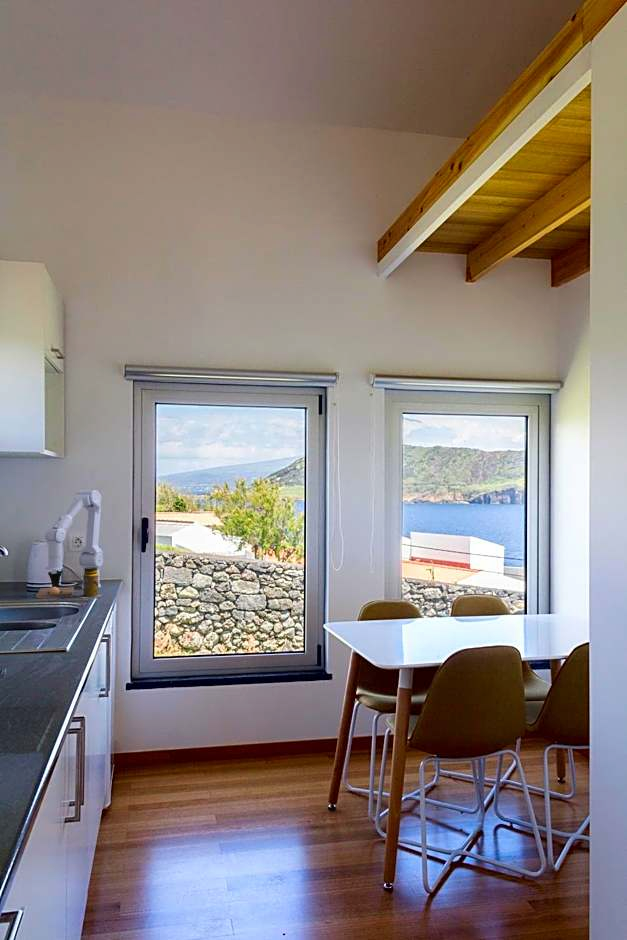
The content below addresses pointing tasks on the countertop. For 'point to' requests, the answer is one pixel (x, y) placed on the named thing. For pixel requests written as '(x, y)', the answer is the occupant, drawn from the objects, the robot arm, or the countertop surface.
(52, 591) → the ball
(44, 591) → the deck
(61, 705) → the countertop surface
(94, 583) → the condiment
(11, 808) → the countertop surface
